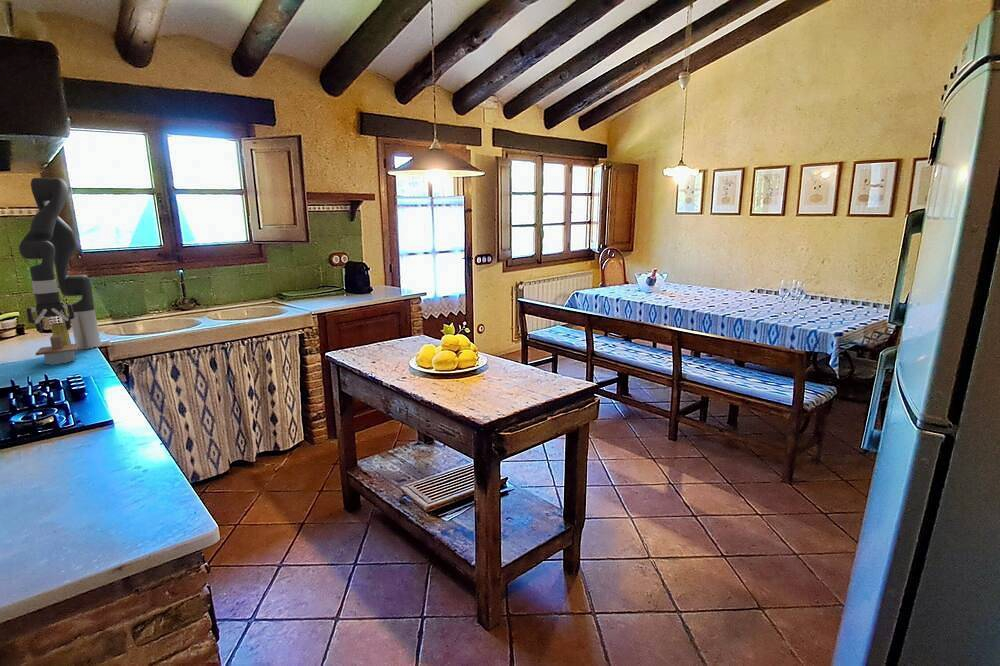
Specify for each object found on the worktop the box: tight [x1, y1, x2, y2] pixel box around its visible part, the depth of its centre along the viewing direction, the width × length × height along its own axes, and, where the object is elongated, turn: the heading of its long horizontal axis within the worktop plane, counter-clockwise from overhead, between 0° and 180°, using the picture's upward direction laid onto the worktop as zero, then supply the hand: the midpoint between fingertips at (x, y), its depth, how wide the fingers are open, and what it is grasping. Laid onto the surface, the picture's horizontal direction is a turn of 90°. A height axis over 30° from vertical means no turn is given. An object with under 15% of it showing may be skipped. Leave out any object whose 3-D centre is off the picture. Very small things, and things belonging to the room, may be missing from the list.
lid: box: [35, 334, 80, 356], centre depth 212 cm, size 12×12×6 cm
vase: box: [50, 322, 72, 345], centre depth 222 cm, size 6×6×14 cm
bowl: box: [43, 351, 76, 365], centre depth 213 cm, size 9×9×5 cm
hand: (54, 331), depth 211 cm, fingers open, 8 cm apart
